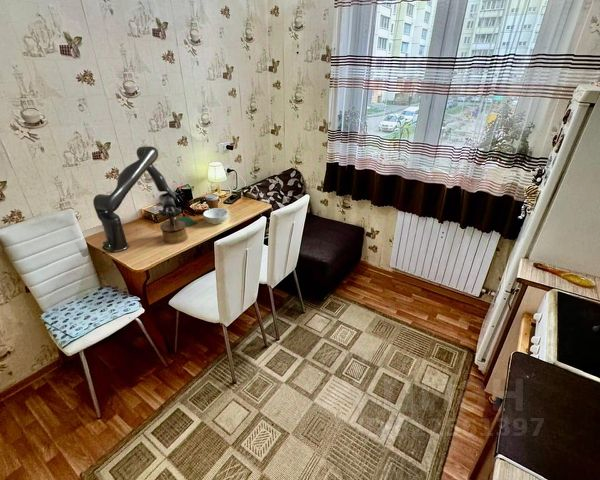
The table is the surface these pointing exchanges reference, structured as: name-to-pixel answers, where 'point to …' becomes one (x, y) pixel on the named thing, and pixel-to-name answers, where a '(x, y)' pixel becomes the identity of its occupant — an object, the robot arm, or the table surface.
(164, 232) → the basket
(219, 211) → the cereal bowl
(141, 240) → the table surface
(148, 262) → the table surface
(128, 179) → the robot arm
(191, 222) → the mat
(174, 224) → the basket lid
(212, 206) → the disposable coffee cup
